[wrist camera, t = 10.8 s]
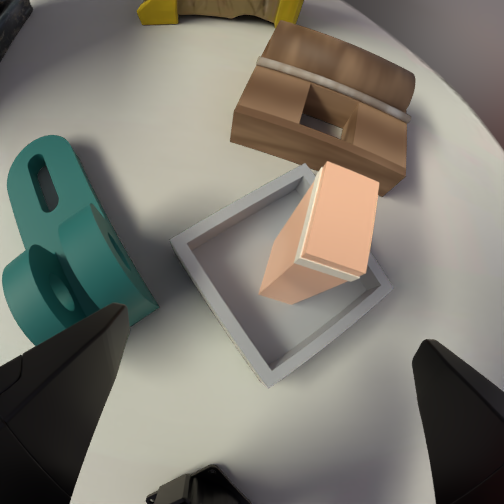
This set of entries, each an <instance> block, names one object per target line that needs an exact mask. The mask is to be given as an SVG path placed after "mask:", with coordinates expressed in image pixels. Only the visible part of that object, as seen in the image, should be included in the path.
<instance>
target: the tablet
mask: <svg viewBox="0 0 504 504" xmlns="http://www.w3.org/2000/svg"><path fill="white" fill-rule="evenodd" d="M32 10H33V8H32V6H31V4H30V1H29V0H0V62H1V60H2V58H3V56H4V55H5V53H6V51H7V50H8V48H9V46H10V44H11V43H12V41H13V39H14V38H15V36H16V35H17V33H18V32H19V30H20V29H21V27H22V26H23V24H24V23H25V21H26V20H27V18H28V17H29V15H30V13H31V12H32Z"/></svg>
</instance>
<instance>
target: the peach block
mask: <svg viewBox="0 0 504 504" xmlns="http://www.w3.org/2000/svg"><path fill="white" fill-rule="evenodd" d="M378 190H379V182H377V181H375V180H373V179H370V178H368V177H366V176H363V175H361V174H358V173H356V172H354V171H351V170H349V169H346V168H344V167H341V166H339V165H336V164H334V163H331V162H328V161H327V162H326V164H325V165H324V167H321V168H320V170H319V172H318V173H317V175H316V177H315V180H314V182H313V183H312V185H311V186H310V188H309V189H308V191H307V192H306V194H305V195H304V197H303V198H302V200H301V201H300V203H299V204H298V206H297V207H296V209H295V210H294V212H293V213H292V215H291V216H290V218H289V219H288V221H287V222H286V224H285V225H284V227H283V228H282V230H281V231H280V233H279V234H278V236H277V237H276V239H275V240H274V243H273V246H272V250H271V253H270V257H269V260H268V264H267V267H266V270H265V274H264V277H263V280H262V284H261V287H260V290H259V294H258V295H261V296H265V297H268V298H271V299H274V300H277V301H281V302H284V303H287V304H290V305H292V304H294V303H297V302H299V301H302V300H304V299H307V298H309V297H312V296H314V295H317V294H319V293H321V292H324V291H326V290H329V289H331V288H333V287H336V286H338V285H340V284H343V283H345V282H347V281H350V282H352V281H354V280H356V279H359V278H360V276H361V275H363V274H366V270H367V264H368V258H369V253H370V247H371V241H372V234H373V228H374V221H375V214H376V206H377V198H378Z"/></svg>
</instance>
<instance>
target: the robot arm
mask: <svg viewBox="0 0 504 504" xmlns="http://www.w3.org/2000/svg"><path fill="white" fill-rule="evenodd" d="M129 331H130V326H129V317H128V308H127V306H126V305H125V304H120V303H111V304H109V305H107V306H106V307H104V308H102V309H100V310H98V311H97V312H95V313H93V314H91V315H89V316H88V317H86V318H84V319H82V320H81V321H79V322H77V323H75V324H74V325H72V326H70V327H68V328H66V329H65V330H63V331H61V332H59V333H58V334H56V335H54V336H53V337H51V338H49V339H47V340H46V341H44V342H42V343H40V344H39V345H37V346H35V347H33V348H32V349H30V350H28V351H27V352H25V353H23V355H20V356H18V357H16V358H14V359H13V360H11V361H9V362H7V363H6V364H4V365H2V366H0V504H70V500H71V497H72V494H73V491H74V488H75V485H76V482H77V479H78V476H79V473H80V470H81V467H82V464H83V461H84V458H85V456H86V453H87V450H88V447H89V445H90V442H91V439H92V437H93V434H94V431H95V429H96V426H97V424H98V421H99V418H100V416H101V413H102V411H103V408H104V406H105V403H106V401H107V398H108V396H109V394H110V391H111V389H112V386H113V384H114V381H115V379H116V376H117V373H118V369H119V366H120V362H121V359H122V355H123V352H124V349H125V346H126V342H127V339H128V336H129ZM412 368H413V374H414V380H415V386H416V393H417V400H418V406H419V411H420V415H421V420H422V424H423V429H424V433H425V438H426V443H427V449H428V454H429V460H430V465H431V471H432V478H433V484H434V492H435V499H436V504H504V392H503V391H502V390H501V389H499V388H498V387H497V386H496V385H494V384H493V383H492V382H490V381H489V380H488V379H487V378H485V377H484V376H483V375H481V374H480V373H479V372H478V371H476V370H475V369H474V368H472V367H471V366H470V365H468V364H467V363H466V362H465V361H463V360H462V359H461V358H459V357H458V356H457V355H455V354H454V353H453V352H451V351H450V350H449V349H447V348H446V347H445V346H443V345H442V344H441V343H439V342H438V341H437V340H433V339H426V340H424V341H423V342H422V343H421V345H420V347H419V349H418V350H417V352H416V354H415V356H414V357H413V360H412ZM210 470H215V471H216V472H215V473H210V472H209V471H210ZM150 499H153V500H155V502H152V501H151V500H150ZM146 503H147V504H252V503H251V502H250V501H249V500H248V499H247V498H246V497H245V496H244V495H243V494H242V493H241V492H240V491H239V490H238V489H237V488H236V487H235V486H234V484H233V483H232V482H231V481H230V480H229V479H228V478H227V477H226V476H225V475H224V473H223V472H222V471H221V470H220V469H219V468H218V467H217V466H216V465H208V466H206V467H205V468H203V469H201V470H199V471H197V472H195V473H193V474H191V475H190V474H184V475H182V476H180V477H178V478H176V479H174V480H172V481H170V482H168V483H166V484H164V485H162V486H160V487H159V490H158V491H156V492H154V493H152V494H150V495H148V496H147V498H146Z"/></svg>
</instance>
